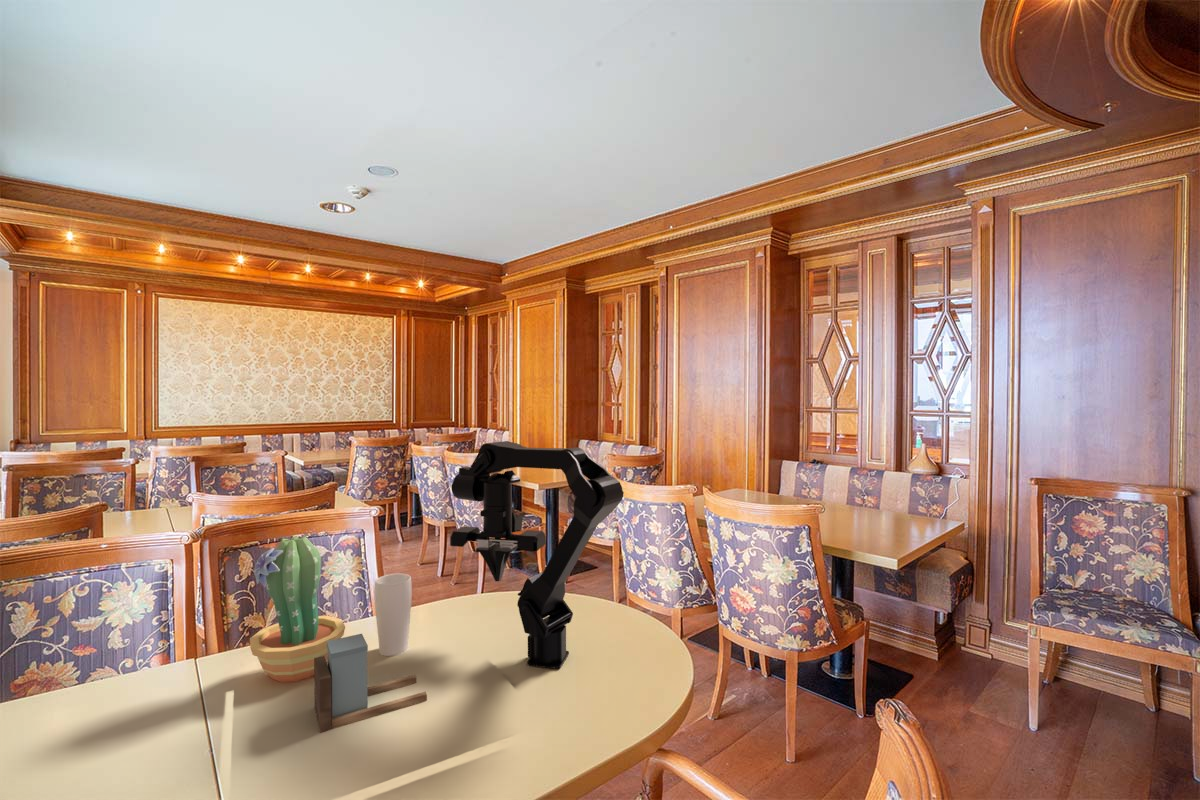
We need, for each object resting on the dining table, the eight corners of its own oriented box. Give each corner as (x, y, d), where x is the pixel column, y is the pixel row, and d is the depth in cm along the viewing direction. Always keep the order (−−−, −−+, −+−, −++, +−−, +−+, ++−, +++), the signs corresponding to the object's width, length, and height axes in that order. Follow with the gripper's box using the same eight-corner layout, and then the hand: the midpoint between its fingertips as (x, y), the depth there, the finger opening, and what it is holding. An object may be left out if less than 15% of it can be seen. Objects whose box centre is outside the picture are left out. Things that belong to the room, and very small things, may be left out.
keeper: (362, 697, 92) (361, 633, 92) (368, 713, 87) (367, 645, 87) (327, 707, 89) (326, 641, 89) (331, 723, 85) (330, 653, 84)
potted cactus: (261, 663, 106) (260, 531, 106) (350, 651, 111) (349, 525, 111) (236, 706, 92) (235, 553, 91) (340, 690, 96) (338, 545, 96)
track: (414, 686, 98) (414, 635, 97) (427, 708, 91) (426, 652, 91) (311, 715, 89) (311, 658, 89) (317, 741, 82) (316, 680, 82)
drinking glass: (400, 665, 105) (399, 585, 105) (367, 662, 107) (367, 583, 106) (418, 649, 112) (418, 574, 112) (388, 646, 113) (387, 572, 113)
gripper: (554, 498, 119) (554, 571, 119) (473, 495, 123) (473, 565, 124) (535, 509, 108) (536, 589, 108) (448, 504, 113) (448, 582, 113)
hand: (498, 580), depth 114 cm, fingers closed
